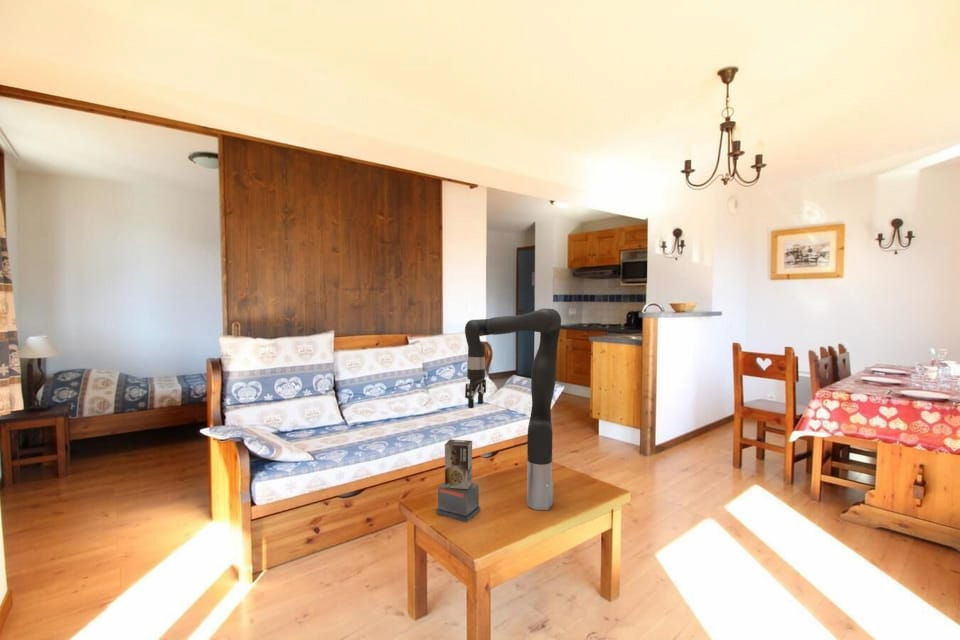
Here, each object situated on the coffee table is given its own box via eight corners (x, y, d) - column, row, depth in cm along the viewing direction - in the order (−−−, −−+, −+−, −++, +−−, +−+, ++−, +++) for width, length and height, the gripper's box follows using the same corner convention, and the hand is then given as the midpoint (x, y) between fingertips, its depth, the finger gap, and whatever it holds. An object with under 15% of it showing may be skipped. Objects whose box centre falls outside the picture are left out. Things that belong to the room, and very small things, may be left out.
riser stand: (480, 510, 167) (480, 484, 167) (466, 522, 158) (467, 494, 158) (450, 503, 173) (450, 477, 173) (436, 513, 164) (436, 486, 164)
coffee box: (472, 483, 168) (473, 440, 167) (468, 490, 161) (468, 445, 161) (449, 480, 170) (449, 438, 169) (444, 487, 163) (444, 443, 163)
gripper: (476, 364, 195) (475, 401, 196) (459, 368, 182) (459, 408, 183) (491, 366, 192) (491, 403, 192) (476, 370, 179) (475, 410, 180)
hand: (475, 405), depth 188 cm, fingers open, 8 cm apart
